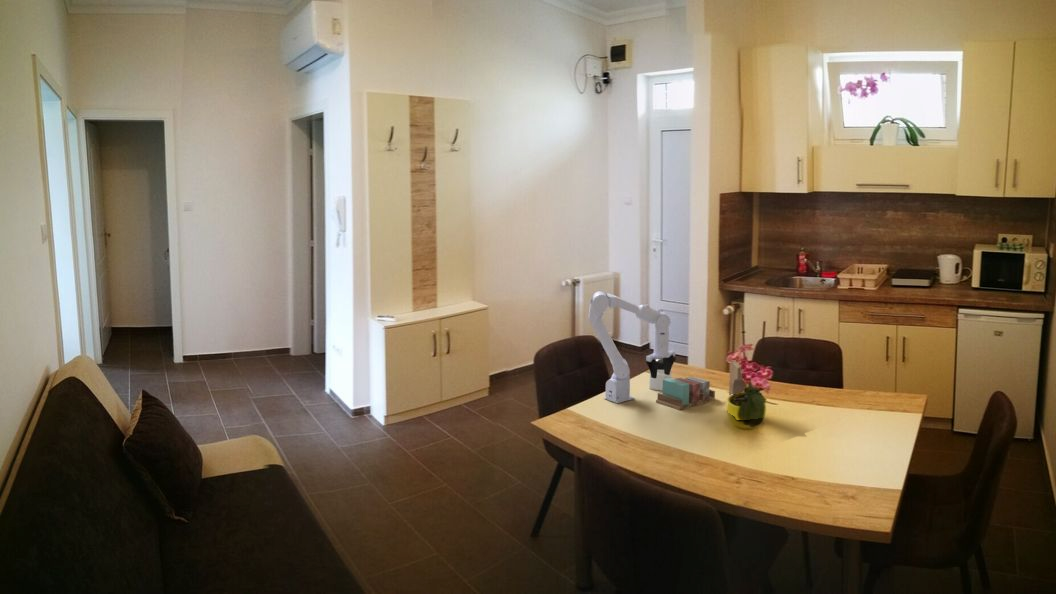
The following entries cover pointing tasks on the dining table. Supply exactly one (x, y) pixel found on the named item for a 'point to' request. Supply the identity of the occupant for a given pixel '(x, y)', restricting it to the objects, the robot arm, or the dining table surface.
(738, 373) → the decorative block
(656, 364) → the robot arm
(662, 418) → the dining table surface
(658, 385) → the medicine bottle
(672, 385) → the teal book
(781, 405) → the dining table surface
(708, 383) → the book rack
